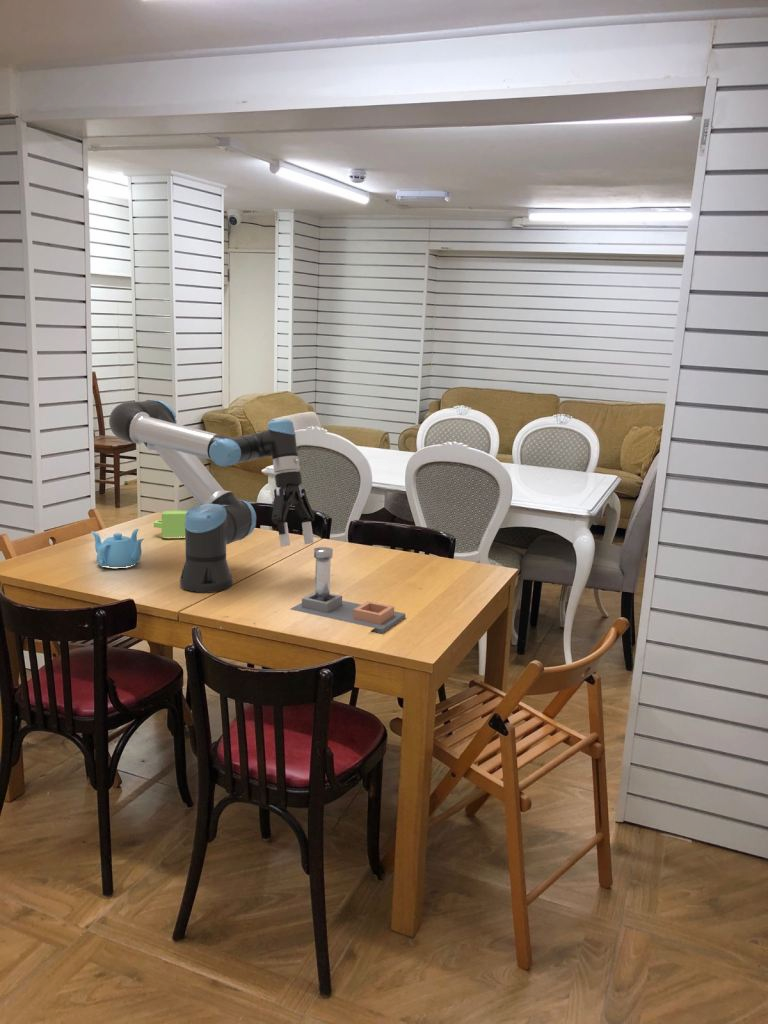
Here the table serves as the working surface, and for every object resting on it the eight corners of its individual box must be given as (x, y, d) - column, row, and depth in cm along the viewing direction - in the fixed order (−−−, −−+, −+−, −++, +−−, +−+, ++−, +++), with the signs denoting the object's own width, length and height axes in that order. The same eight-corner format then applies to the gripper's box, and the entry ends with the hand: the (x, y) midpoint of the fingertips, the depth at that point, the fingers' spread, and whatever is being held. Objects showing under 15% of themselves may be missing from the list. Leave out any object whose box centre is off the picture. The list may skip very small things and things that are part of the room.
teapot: (95, 573, 238) (94, 541, 236) (91, 560, 251) (90, 529, 249) (145, 569, 244) (144, 538, 242) (139, 556, 257) (138, 526, 255)
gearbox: (204, 534, 292) (204, 509, 291) (205, 539, 283) (205, 513, 281) (154, 534, 288) (154, 508, 286) (153, 539, 278) (153, 513, 277)
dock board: (289, 613, 210) (289, 600, 209) (316, 599, 222) (316, 586, 222) (381, 633, 198) (382, 620, 197) (405, 617, 210) (405, 604, 209)
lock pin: (309, 606, 212) (310, 550, 209) (318, 601, 217) (320, 546, 213) (325, 610, 210) (326, 552, 207) (334, 605, 214) (336, 548, 211)
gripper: (275, 468, 214) (286, 545, 213) (319, 472, 237) (329, 541, 236) (252, 473, 217) (263, 548, 216) (298, 476, 240) (308, 544, 239)
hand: (297, 544), depth 226 cm, fingers open, 13 cm apart
